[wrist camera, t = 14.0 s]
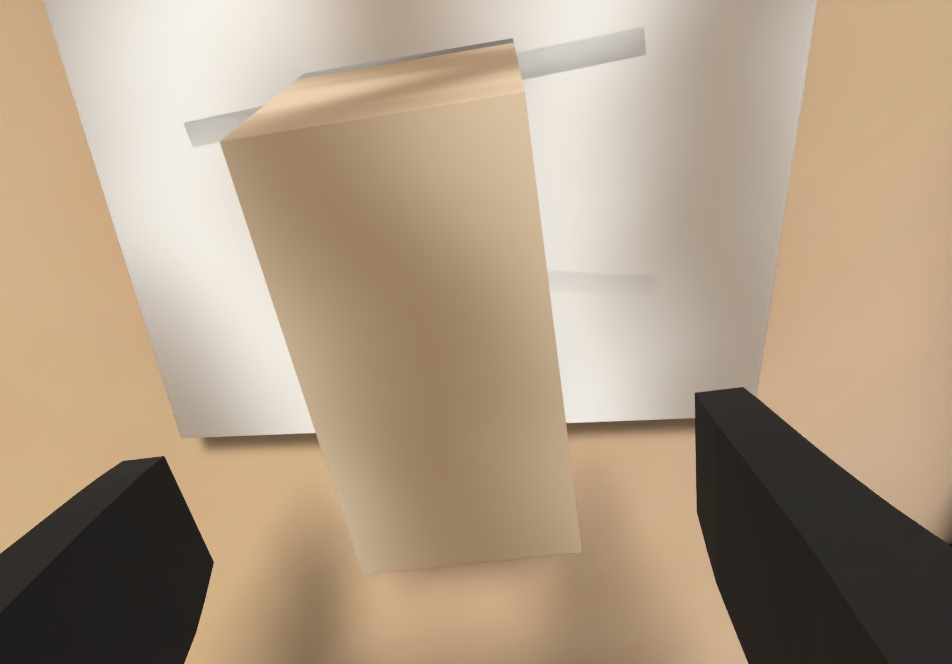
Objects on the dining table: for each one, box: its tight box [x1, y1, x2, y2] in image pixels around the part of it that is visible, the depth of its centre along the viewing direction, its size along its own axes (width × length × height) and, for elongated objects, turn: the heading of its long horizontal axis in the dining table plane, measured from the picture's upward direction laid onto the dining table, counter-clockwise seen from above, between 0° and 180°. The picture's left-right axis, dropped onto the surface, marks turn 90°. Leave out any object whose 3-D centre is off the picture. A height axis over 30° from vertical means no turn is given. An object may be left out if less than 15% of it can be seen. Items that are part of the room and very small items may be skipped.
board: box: [43, 0, 817, 438], centre depth 14 cm, size 14×18×1 cm
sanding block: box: [220, 38, 582, 575], centre depth 13 cm, size 4×8×5 cm, turn 9°
